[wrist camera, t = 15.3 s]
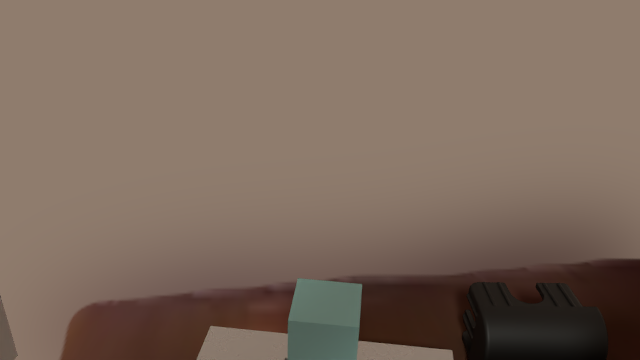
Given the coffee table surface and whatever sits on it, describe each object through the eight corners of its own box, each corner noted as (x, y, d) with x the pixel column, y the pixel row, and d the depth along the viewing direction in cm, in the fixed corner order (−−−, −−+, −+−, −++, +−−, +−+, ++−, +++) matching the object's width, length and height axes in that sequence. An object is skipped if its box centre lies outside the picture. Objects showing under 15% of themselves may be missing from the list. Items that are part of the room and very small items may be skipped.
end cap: (476, 395, 46) (490, 331, 43) (455, 335, 53) (466, 276, 50) (595, 395, 47) (617, 332, 44) (560, 336, 53) (577, 277, 50)
